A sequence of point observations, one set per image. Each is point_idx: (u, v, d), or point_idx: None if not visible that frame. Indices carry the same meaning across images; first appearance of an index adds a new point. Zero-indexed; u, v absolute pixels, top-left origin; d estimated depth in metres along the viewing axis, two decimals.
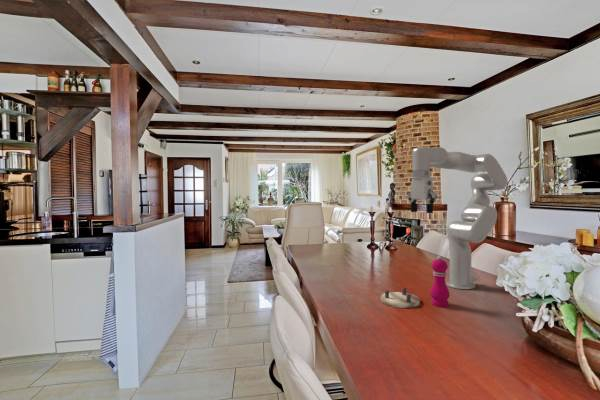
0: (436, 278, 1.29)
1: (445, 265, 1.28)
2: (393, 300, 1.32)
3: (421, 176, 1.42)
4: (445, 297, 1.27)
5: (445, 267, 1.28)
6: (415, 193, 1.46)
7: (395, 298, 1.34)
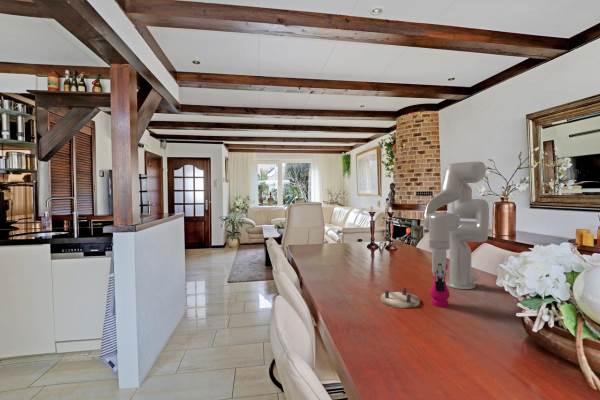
0: None
1: None
2: (393, 300, 1.32)
3: None
4: (445, 297, 1.27)
5: None
6: None
7: (395, 298, 1.34)
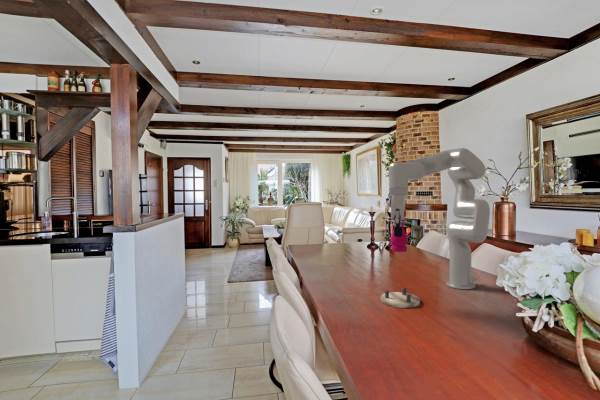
0: None
1: None
2: (393, 300, 1.32)
3: None
4: (403, 242, 1.31)
5: None
6: None
7: (395, 298, 1.34)
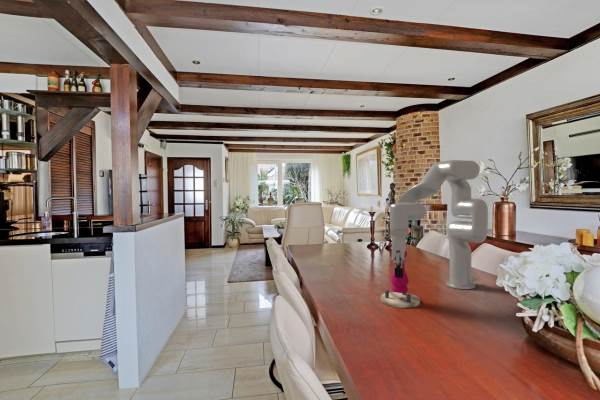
0: None
1: None
2: (393, 300, 1.32)
3: None
4: (404, 283, 1.32)
5: None
6: (404, 253, 1.33)
7: (395, 298, 1.34)
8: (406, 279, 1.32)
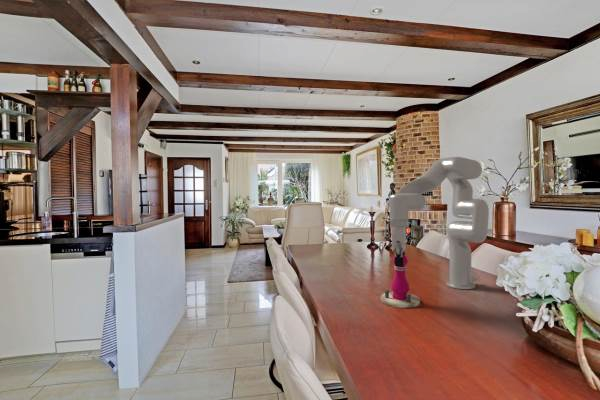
0: (396, 272, 1.34)
1: (405, 260, 1.32)
2: (393, 300, 1.32)
3: None
4: (404, 290, 1.32)
5: (405, 261, 1.32)
6: (405, 244, 1.33)
7: None
8: (407, 286, 1.32)
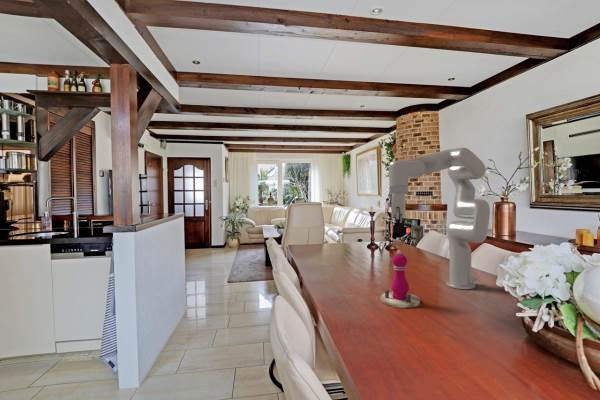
0: (396, 272, 1.34)
1: (404, 259, 1.32)
2: (393, 300, 1.32)
3: None
4: (404, 290, 1.32)
5: (404, 261, 1.32)
6: (404, 210, 1.33)
7: None
8: (406, 286, 1.32)
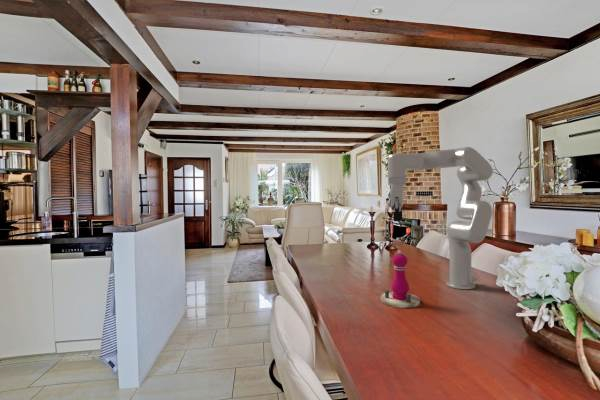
0: (396, 272, 1.34)
1: (404, 259, 1.32)
2: (393, 300, 1.32)
3: None
4: (404, 290, 1.32)
5: (405, 261, 1.32)
6: None
7: None
8: (407, 286, 1.32)
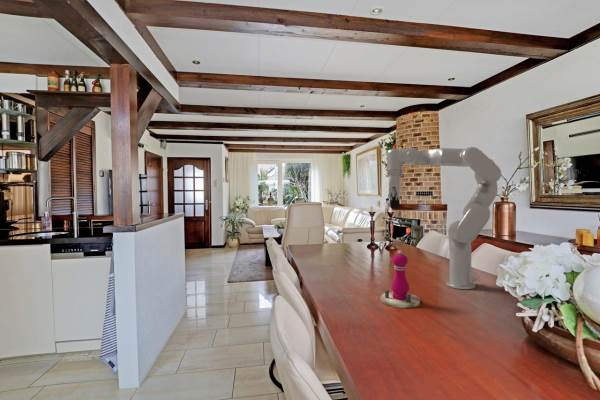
0: (396, 272, 1.34)
1: (405, 259, 1.32)
2: (393, 300, 1.32)
3: None
4: (404, 290, 1.32)
5: (405, 261, 1.32)
6: (399, 190, 1.60)
7: None
8: (407, 286, 1.32)
